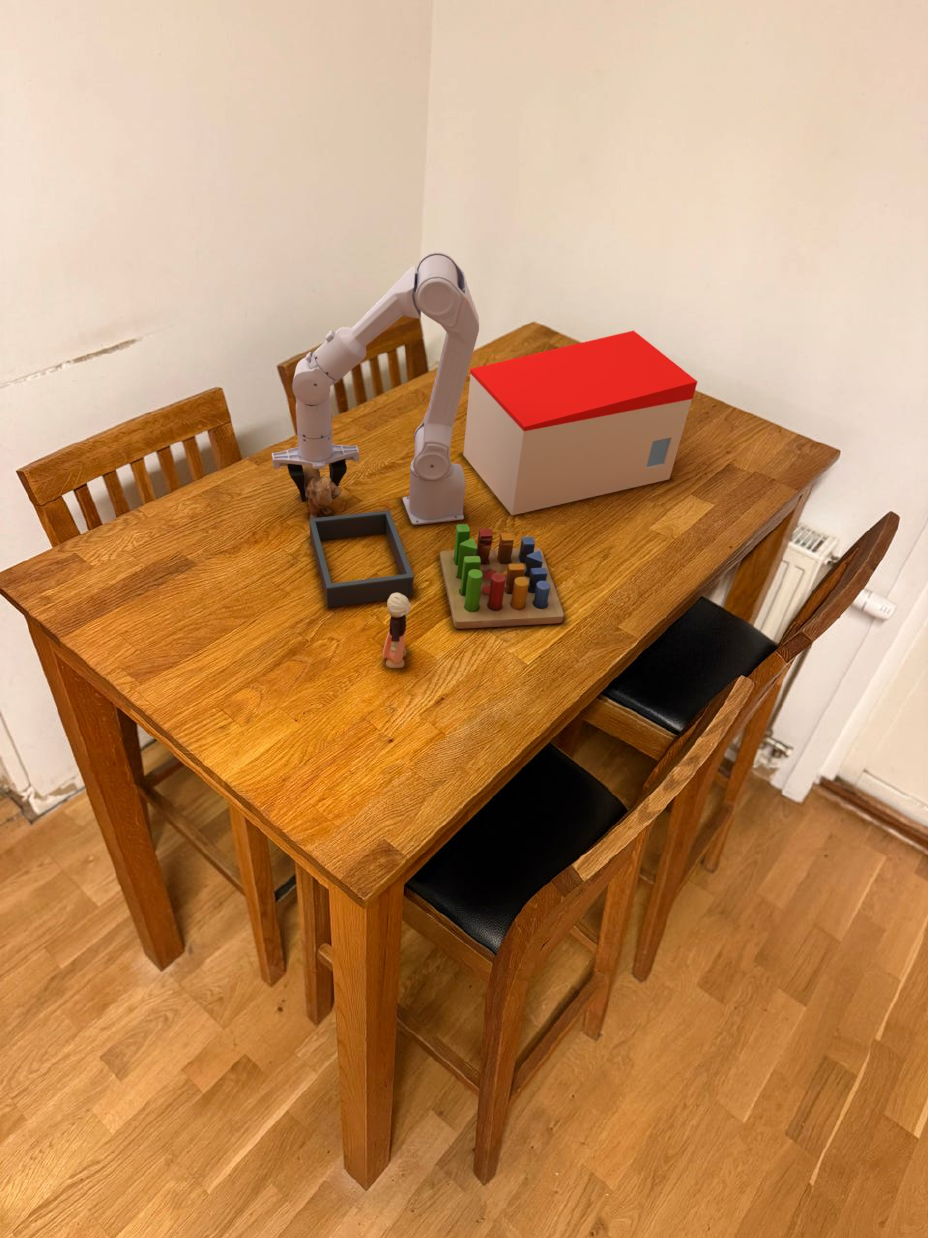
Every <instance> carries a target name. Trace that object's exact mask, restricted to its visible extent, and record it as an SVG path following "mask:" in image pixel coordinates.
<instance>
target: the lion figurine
mask: <svg viewBox="0 0 928 1238" xmlns="http://www.w3.org/2000/svg"><path fill="white" fill-rule="evenodd" d="M302 467H303V472H304V488H305V495H306V499H308V501H307V502H308V506H309V512H310V515H309V519H313V518H318V513H317V510H316V507H317V508H321V511H322V512H323V513H324V515H330V514H331V512H332V510H331V509H329V508H328V506H329V505H330V504H332V502H333V499H332V497H335V499H338V498H339V496H340V495H341V492H342V491H343V488H342V487H340V486H336V485H335V483H333V482H331V479H330V475H329V476H324V475H322V476H321V472H320V471H321V470H320V469H314V468H313V466H307V465H302Z"/></svg>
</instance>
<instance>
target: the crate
mask: <svg viewBox="0 0 928 1238" xmlns="http://www.w3.org/2000/svg"><path fill="white" fill-rule="evenodd" d="M308 522H309V535H310V537H309V539H310V543H311V547H312V551H313V555H314V559H315V562H316V567H317V571H318V574H319V579H320V583H321V586H322V591H323V594H324V598H325V601H326V606H327V608H328V609H331V608H336V607H344V606H351V605H360V604H366V603H374V602H381V601H382V602H383V601H388V599H389V597H390V595H391V594H393V593H400V594H402V595H404V596H406V597H407V598H410V597H413V595H414V579H415V577H414V573H413V571H412V568H411V565H410V562H409V559H408V557H407V554H406V552H405V549H404V546H403V543H402V541H401V537H400V535H399V532H398V530H397V526H396V524H395V521H394V519H393V516H392V512H391V511H390V509H388V510H387V509H386V510H380V511H379V510H378V511H369V512H361V513H350V514H340V515H333V516H331V515H330V516H323V517H317V518H313V519H311V518H308ZM380 534H385V535H386V538H387V542H388V544H389V547H390V550H391V553H392V556H393V558H394V561H395V564H396V567H397V570H398V573H399V574H395V575H388V576H379V577H372V578H365V579H356V580H350V581H341V582H333V583H332V580H331V576H330V572H329V568H328V565H327V561H326V557H325V553H324V550H323V546H322V541H327V540H336V539H337V540H338V539H344V538H345V539H347V538H354V537H361V536H372V535H380Z"/></svg>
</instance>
